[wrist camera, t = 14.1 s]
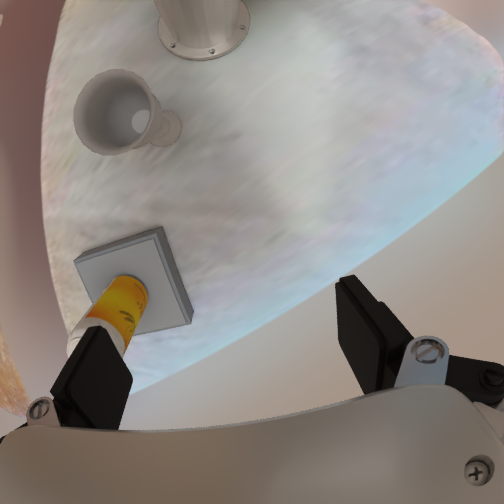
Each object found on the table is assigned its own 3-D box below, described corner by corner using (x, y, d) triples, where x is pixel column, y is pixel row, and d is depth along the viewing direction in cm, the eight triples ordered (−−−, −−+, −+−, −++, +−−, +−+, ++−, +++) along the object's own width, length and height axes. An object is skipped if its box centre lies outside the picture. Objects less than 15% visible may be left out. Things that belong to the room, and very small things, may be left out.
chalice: (199, 129, 35) (173, 109, 18) (162, 164, 37) (110, 174, 20) (164, 93, 33) (116, 52, 16) (128, 128, 34) (59, 116, 17)
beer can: (138, 318, 39) (106, 390, 25) (103, 297, 38) (58, 360, 24) (156, 288, 38) (124, 358, 24) (119, 264, 36) (70, 323, 22)
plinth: (83, 252, 40) (72, 261, 36) (162, 226, 39) (155, 234, 36) (118, 327, 44) (110, 341, 40) (193, 311, 44) (190, 325, 40)
